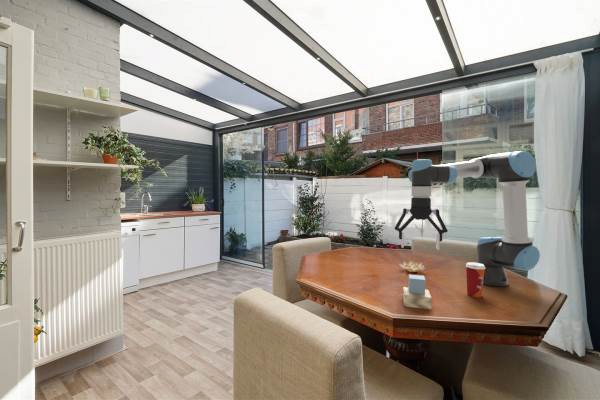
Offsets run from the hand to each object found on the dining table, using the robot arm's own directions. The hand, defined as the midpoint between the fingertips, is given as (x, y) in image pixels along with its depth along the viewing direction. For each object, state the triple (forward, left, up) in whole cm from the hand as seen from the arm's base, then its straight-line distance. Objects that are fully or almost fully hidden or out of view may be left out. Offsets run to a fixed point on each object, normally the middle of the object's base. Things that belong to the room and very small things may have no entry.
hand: (419, 248), depth 123 cm
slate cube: (+1, +2, -18) cm, 18 cm away
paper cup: (-25, -16, -23) cm, 37 cm away
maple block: (+1, +2, -23) cm, 23 cm away
